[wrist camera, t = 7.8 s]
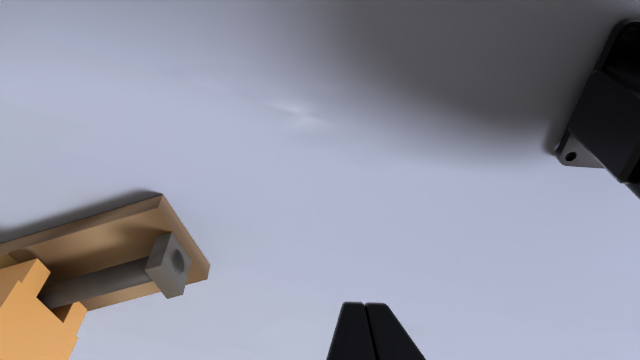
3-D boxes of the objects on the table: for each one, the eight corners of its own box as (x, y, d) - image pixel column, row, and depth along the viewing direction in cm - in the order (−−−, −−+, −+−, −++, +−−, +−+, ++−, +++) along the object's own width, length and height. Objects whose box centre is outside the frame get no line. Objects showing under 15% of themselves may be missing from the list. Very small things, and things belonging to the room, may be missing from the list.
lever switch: (163, 194, 22) (134, 265, 18) (210, 265, 25) (194, 339, 21) (-48, 258, 24) (-113, 334, 20) (18, 317, 26) (-28, 394, 23)
